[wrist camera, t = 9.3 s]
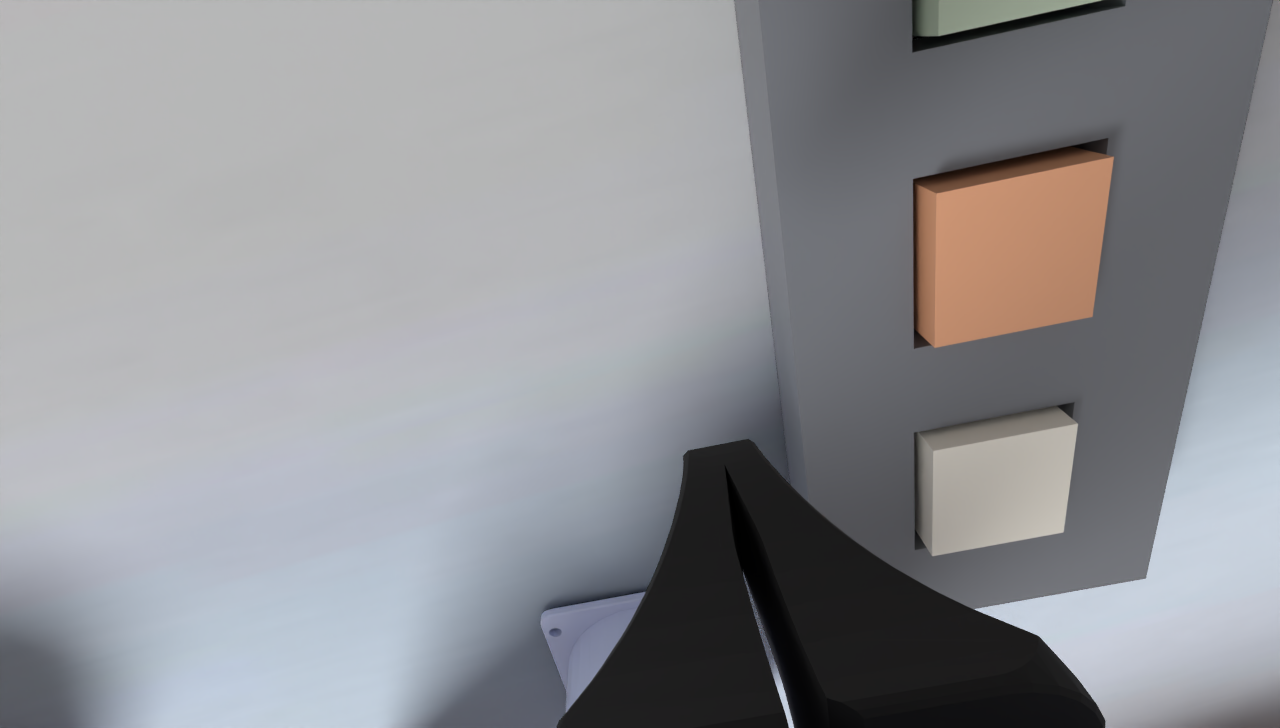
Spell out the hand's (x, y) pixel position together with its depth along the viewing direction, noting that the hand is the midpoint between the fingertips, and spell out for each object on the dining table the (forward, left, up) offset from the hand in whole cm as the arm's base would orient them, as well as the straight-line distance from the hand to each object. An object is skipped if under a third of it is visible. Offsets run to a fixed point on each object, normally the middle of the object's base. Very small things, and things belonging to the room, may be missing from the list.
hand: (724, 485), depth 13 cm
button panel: (+1, -9, -9) cm, 13 cm away
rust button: (+1, -9, -9) cm, 13 cm away
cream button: (-7, -9, -9) cm, 14 cm away
